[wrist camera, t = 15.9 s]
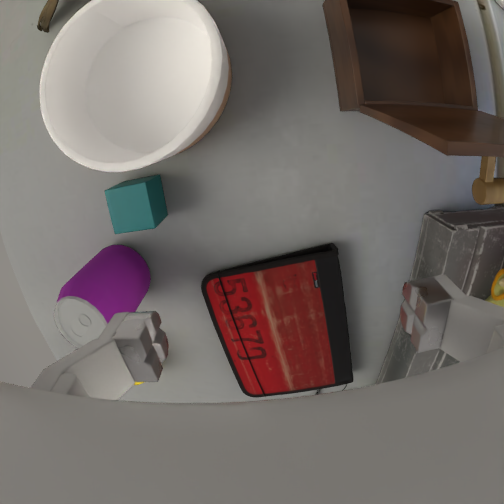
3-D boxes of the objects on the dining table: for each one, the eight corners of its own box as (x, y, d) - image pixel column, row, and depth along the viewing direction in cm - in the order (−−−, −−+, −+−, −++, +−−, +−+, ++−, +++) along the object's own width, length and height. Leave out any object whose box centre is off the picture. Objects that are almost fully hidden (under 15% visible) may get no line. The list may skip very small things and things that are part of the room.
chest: (322, 4, 24) (334, -19, 18) (430, 15, 23) (458, 1, 17) (340, 111, 29) (357, 108, 23) (447, 113, 28) (478, 114, 22)
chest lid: (447, 141, 11) (438, 224, 14) (581, 155, 10) (570, 211, 13) (359, 104, 22) (361, 152, 25) (480, 110, 21) (478, 151, 24)
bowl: (118, 187, 32) (80, 207, 25) (64, 65, 26) (20, 57, 19) (260, 117, 29) (260, 113, 21) (194, -14, 23) (175, -48, 16)
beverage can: (118, 228, 34) (64, 274, 23) (165, 272, 36) (130, 333, 25) (88, 269, 36) (38, 320, 25) (131, 308, 38) (94, 369, 27)
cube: (122, 181, 32) (104, 190, 28) (160, 174, 32) (145, 182, 27) (131, 220, 34) (114, 234, 29) (168, 215, 33) (155, 228, 29)
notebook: (338, 249, 32) (354, 383, 39) (334, 240, 34) (352, 372, 42) (193, 280, 34) (245, 402, 42) (197, 271, 36) (246, 390, 44)
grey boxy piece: (425, 185, 32) (365, 403, 44) (458, 198, 25) (375, 436, 38) (521, 204, 31) (453, 391, 44) (553, 218, 25) (468, 418, 37)
